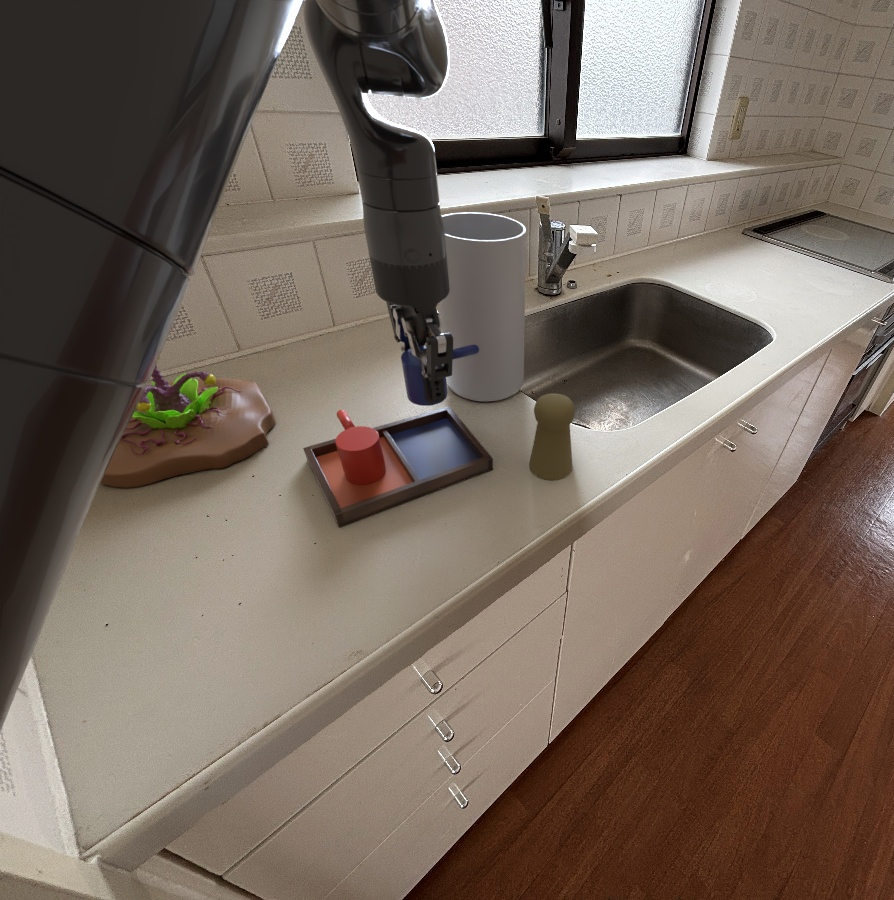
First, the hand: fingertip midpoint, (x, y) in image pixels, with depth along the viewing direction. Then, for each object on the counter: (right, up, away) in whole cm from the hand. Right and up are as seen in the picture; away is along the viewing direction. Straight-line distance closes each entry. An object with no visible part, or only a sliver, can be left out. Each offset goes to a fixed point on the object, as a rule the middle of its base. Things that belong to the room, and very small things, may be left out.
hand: (426, 388), depth 61 cm
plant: (-34, -5, +5) cm, 34 cm away
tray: (-5, -10, +4) cm, 12 cm away
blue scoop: (+2, 0, +2) cm, 3 cm away
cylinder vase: (+2, +4, +22) cm, 22 cm away
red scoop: (-10, -9, +3) cm, 14 cm away
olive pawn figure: (+15, -10, +8) cm, 19 cm away
